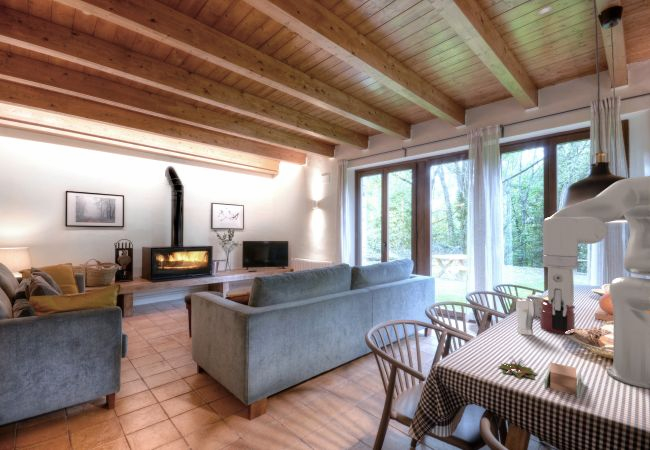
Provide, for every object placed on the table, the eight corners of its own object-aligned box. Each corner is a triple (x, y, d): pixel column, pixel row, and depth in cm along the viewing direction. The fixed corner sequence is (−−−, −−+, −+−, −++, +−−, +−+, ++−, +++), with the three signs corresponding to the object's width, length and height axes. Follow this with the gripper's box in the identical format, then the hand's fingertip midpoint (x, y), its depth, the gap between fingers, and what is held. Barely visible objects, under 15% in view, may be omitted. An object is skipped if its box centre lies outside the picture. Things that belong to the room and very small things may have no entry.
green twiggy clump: (542, 385, 91) (542, 369, 91) (496, 375, 97) (496, 361, 97) (536, 369, 102) (536, 355, 102) (495, 361, 107) (495, 348, 107)
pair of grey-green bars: (581, 381, 93) (581, 373, 93) (579, 397, 84) (579, 388, 84) (549, 373, 98) (549, 365, 98) (544, 387, 89) (544, 378, 89)
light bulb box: (550, 315, 165) (550, 296, 165) (551, 318, 159) (551, 298, 159) (526, 312, 171) (526, 293, 171) (527, 315, 165) (527, 295, 165)
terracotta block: (575, 384, 91) (575, 367, 92) (577, 395, 85) (577, 378, 85) (550, 378, 95) (550, 362, 95) (550, 389, 89) (550, 371, 89)
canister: (570, 337, 132) (571, 296, 132) (536, 329, 142) (536, 291, 142) (578, 331, 140) (578, 292, 141) (544, 323, 150) (544, 288, 151)
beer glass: (538, 334, 134) (538, 300, 134) (527, 336, 132) (527, 302, 132) (522, 329, 141) (523, 297, 141) (512, 331, 138) (512, 298, 138)
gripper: (575, 265, 75) (575, 340, 75) (579, 261, 86) (579, 326, 86) (538, 262, 80) (538, 333, 80) (546, 259, 91) (546, 320, 91)
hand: (559, 329), depth 83 cm, fingers closed
